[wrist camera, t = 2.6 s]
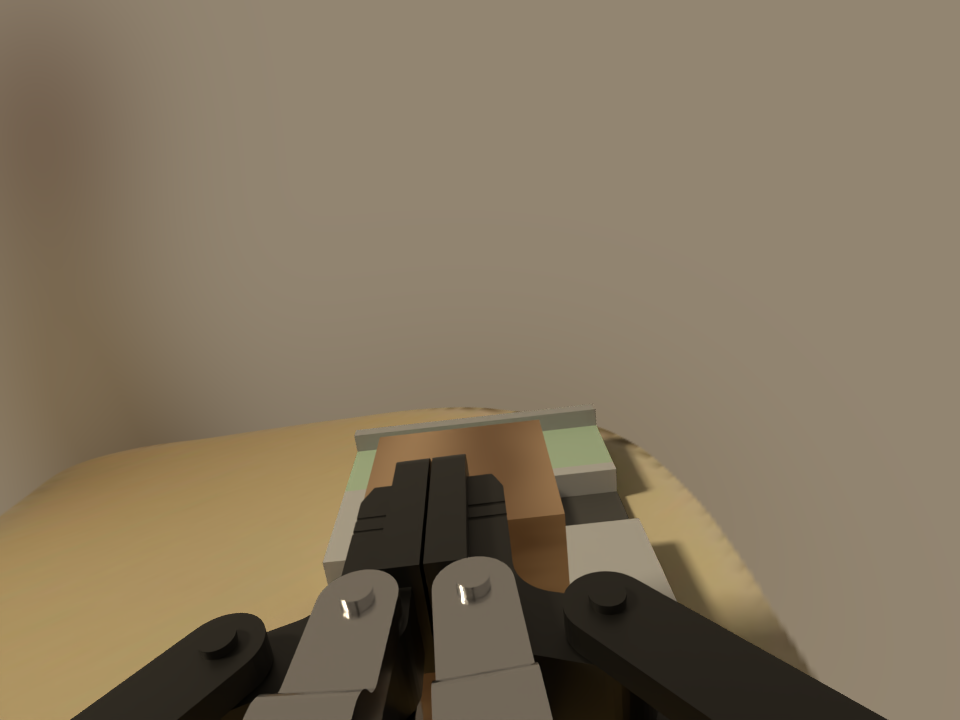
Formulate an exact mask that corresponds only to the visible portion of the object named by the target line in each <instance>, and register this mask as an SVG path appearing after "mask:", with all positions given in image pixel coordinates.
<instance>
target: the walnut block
mask: <svg viewBox="0 0 960 720" xmlns="http://www.w3.org/2000/svg"><path fill="white" fill-rule="evenodd" d="M459 454H466V458H467V464H468V470H469V476H475V475H483V474H493V475H494V476H495V477H496V478H497V479H498V480H499V482H500V483H501V484H502V485H503V488H504V496H505V504H506V512H507V520H508V528H509V536H510V544H511V553H512V561H513V566H514V569H515V571H516V573H517V574H518V575H519V576H520V577H521V578H522V579H523V580H524V581H525V582H527V583H528V584H530V585H532V586H534V587H536V588H539V589H543V590H547V591H553V592H560V593H564V592H565V590H566V589H567V587H568V586H569V585H570V581H569V567H568V552H567V538H566V524H565V513H564V509H563V505H562V502H561V498H560V494H559V491H558V487H557V483H556V480H555V476H554V472H553V469H552V465H551V461H550V458H549V454H548V450H547V447H546V443H545V439H544V436H543V432H542V428H541V425H540V421H539V420H531V421H522V422H513V423H504V424H495V425H486V426H477V427H468V428H459V429H450V430H441V431H432V432H423V433H414V434H405V435H396V436H387V437H380V439H379V443H378V447H377V450H376V454H375V458H374V462H373V466H372V470H371V474H370V477H369V481H368V485H367V489H366V493H365V497H364V499H365V498H366V497H367V495H368V494H369V493H370V492H371V491H372V490H373V489H374V488H377V487H385V486H392V482H393V477H394V472H395V467H396V463H397V462H402V461H411V460H419V459H427V458H430V459H431V461H432V458H434V457H443V456H451V455H459ZM434 680H436V674H435V673H426V674H424V676H423V691H422V697H421V700H422V705H423V711H424V713H423V720H432V700H431V684H432V681H434Z"/></svg>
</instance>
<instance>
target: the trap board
mask: <svg viewBox="0 0 960 720" xmlns="http://www.w3.org/2000/svg"><path fill="white" fill-rule="evenodd" d="M595 412H596V411H595V407H594V405H593V404H588V405H579V406H570V407H561V408H552V409H543V410H534V411H525V412H516V413H507V414H498V415H489V416H480V417H471V418H462V419H453V420H444V421H435V422H426V423H417V424H408V425H399V426H390V427H381V428H372V429H363V430H356V433H355V441H356V446H357V451H358V452H357V455H356V459H355V462H354V465H353V468H352V471H351V475H350V478H349V481H348V484H347V487H346V490H345V494H344V497H343V500H342V503H341V506H340V509H339V513H338V516H337V519H336V522H335V525H334V528H333V532H332V535H331V538H330V541H329V544H328V548H327V551H326V554H325V557H324V560H323V566H324V570H325V574H326V578H327V582H328V585H329V584H330V583H331V582H333V581H334V580H336V579H338V578H339V577H341V575H342V571H343V568H344V564H345V560H346V556H347V553H348V549H349V545H350V542H351V538H352V535H353V530H354V527H355V523H356V522H357V516H358V512H359V508H360V504H361V502H362V501H363V500H364V497H365V493H366V489H367V485H368V481H369V477H370V474H371V470H372V466H373V462H374V458H375V454H376V450H377V447H378V443H379V439H380V437H387V436H396V435H405V434H414V433H423V432H432V431H441V430H450V429H459V428H468V427H477V426H486V425H495V424H504V423H513V422H522V421H531V420H539V421H540V425H541V428H542V432H543V436H544V439H545V443H546V447H547V450H548V454H549V458H550V461H551V465H552V469H553V472H554V476H555V480H556V483H557V487H558V491H559V494H560V498H561V502H562V505H563V509H564V513H565V524H566V538H567V552H568V567H569V581H570V584H571V583H572V582H573V581H574V580H576V579H577V578H579V577H581V576H583V575H585V574H589V573H592V572H599V571H612V572H619V573H623V574H626V575H629V576H631V577H633V578H635V579H637V580H639V581H641V582H643V583H644V584H646V585H648V586H650V587H651V588H653V589H655V590H657V591H659V592H660V593H662V594H664V595H666V596H668V597H669V598H671V599H673V600H675V601H676V602H677V600H676V598H675V596H674V594H673V591H672V589H671V587H670V585H669V583H668V581H667V578H666V576H665V574H664V572H663V570H662V568H661V565H660V563H659V561H658V559H657V557H656V554H655V552H654V550H653V548H652V546H651V544H650V541H649V539H648V537H647V535H646V533H645V531H644V528H643V526H642V524H641V522H640V520H639V518H635V519H629V518H628V516H627V513H626V511H625V509H624V506H623V504H622V502H621V499H620V497H619V495H618V493H617V478H616V467H615V465H614V463H613V461H612V459H611V456H610V454H609V452H608V450H607V448H606V446H605V443H604V441H603V439H602V437H601V435H600V433H599V430H598V428H597V426H596V413H595Z"/></svg>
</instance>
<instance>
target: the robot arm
mask: <svg viewBox="0 0 960 720" xmlns="http://www.w3.org/2000/svg"><path fill="white" fill-rule="evenodd" d="M426 673H435V674H436V680H434V681H432V684H431V700H432V720H887V719H885V718H884V717H882V716H880V715H878V714H876V713H874V712H873V711H871V710H869V709H867V708H866V707H864V706H862V705H860V704H859V703H857V702H855V701H853V700H851V699H850V698H848V697H846V696H844V695H843V694H841V693H839V692H837V691H835V690H834V689H832V688H830V687H828V686H827V685H825V684H823V683H821V682H819V681H818V680H816V679H814V678H812V677H810V676H809V675H807V674H805V673H803V672H802V671H800V670H798V669H796V668H794V667H793V666H791V665H789V664H787V663H785V662H784V661H782V660H780V659H778V658H777V657H775V656H773V655H771V654H769V653H768V652H766V651H764V650H762V649H760V648H759V647H757V646H755V645H753V644H752V643H750V642H748V641H746V640H744V639H743V638H741V637H739V636H737V635H735V634H734V633H732V632H730V631H728V630H726V629H725V628H723V627H721V626H719V625H718V624H716V623H714V622H712V621H710V620H709V619H707V618H705V617H703V616H701V615H700V614H698V613H696V612H694V611H693V610H691V609H689V608H687V607H685V606H684V605H682V604H680V603H678V602H676V601H675V600H673V599H671V598H669V597H668V596H666V595H664V594H662V593H660V592H659V591H657V590H655V589H653V588H651V587H650V586H648V585H646V584H644V583H643V582H641V581H639V580H637V579H635V578H633V577H631V576H629V575H626V574H623V573H619V572H612V571H599V572H592V573H589V574H585V575H583V576H581V577H579V578H577V579H576V580H574V581H573V582H572V583H571V584H570V585H569V586H568V587H567V589H566V590H565V592H564V593H560V592H553V591H547V590H543V589H539V588H536V587H534V586H532V585H530V584H528V583H527V582H525V581H524V580H523V579H522V578H521V577H520V576H519V575H518V574H517V573H516V571H515V569H514V566H513V561H512V553H511V544H510V536H509V528H508V520H507V512H506V504H505V496H504V488H503V485H502V484H501V483H500V482H499V480H498V479H497V478H496V477H495V476H494V475H493V474H483V475H475V476H469V470H468V464H467V458H466V454H459V455H451V456H443V457H434V458H432V461H431V459H430V458H427V459H419V460H411V461H402V462H397V463H396V467H395V472H394V477H393V482H392V486H385V487H377V488H374V489H373V490H372V491H371V492H370V493H369V494H368V495H367V497H366V498H365V499H364V500H363V501H362V502H361V504H360V508H359V512H358V516H357V522H356V523H355V527H354V530H353V535H352V538H351V542H350V545H349V549H348V553H347V556H346V560H345V564H344V568H343V571H342V575H341V577H339V578H338V579H336V580H334V581H333V582H331V583H330V584H329V585H328V586H327V587H326V588H325V589H324V590H323V591H322V592H321V593H320V595H319V596H318V598H317V600H316V603H315V605H314V608H313V610H312V613H311V615H309V616H307V617H306V618H304V619H301V620H299V621H296V622H294V623H291V624H288V625H285V626H283V627H280V628H277V629H274V630H271V631H269V632H266V629H265V626H264V623H263V622H262V620H261V619H260V618H258V617H257V616H255V615H252V614H248V613H233V614H228V615H224V616H221V617H218V618H216V619H213V620H211V621H209V622H207V623H205V624H203V625H202V626H200V627H199V628H197V629H196V630H194V631H193V632H191V633H190V634H189V635H187V636H186V637H185V638H183V639H182V640H180V641H179V642H178V643H176V644H175V645H173V646H172V647H171V648H169V649H168V650H166V651H165V652H164V653H162V654H161V655H160V656H158V657H157V658H155V659H154V660H153V661H151V662H150V663H148V664H147V665H146V666H144V667H143V668H142V669H140V670H139V671H137V672H136V673H135V674H133V675H132V676H130V677H129V678H128V679H126V680H125V681H123V682H122V683H121V684H119V685H118V686H117V687H115V688H114V689H112V690H111V691H110V692H108V693H107V694H105V695H104V696H103V697H101V698H100V699H98V700H97V701H96V702H94V703H93V704H92V705H90V706H89V707H87V708H86V709H85V710H83V711H82V712H80V713H79V714H78V715H76V716H75V717H74V718H72V719H71V720H423V713H424V711H423V705H422V700H421V697H422V691H423V676H424V674H426Z"/></svg>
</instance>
